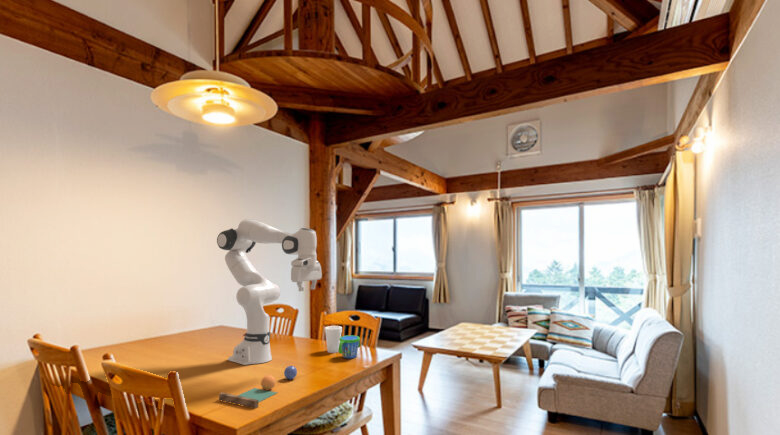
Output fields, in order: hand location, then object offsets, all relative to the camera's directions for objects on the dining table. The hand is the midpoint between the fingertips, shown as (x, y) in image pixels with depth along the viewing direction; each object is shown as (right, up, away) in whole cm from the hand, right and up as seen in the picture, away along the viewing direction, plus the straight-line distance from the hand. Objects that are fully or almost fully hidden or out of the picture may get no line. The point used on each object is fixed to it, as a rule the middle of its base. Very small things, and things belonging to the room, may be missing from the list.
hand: (307, 290), depth 189 cm
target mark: (-13, -35, -36) cm, 52 cm away
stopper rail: (-16, -34, -44) cm, 58 cm away
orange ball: (-10, -32, -29) cm, 44 cm away
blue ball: (-4, -33, -16) cm, 37 cm away
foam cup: (+8, -40, +30) cm, 50 cm away
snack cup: (+19, -39, +18) cm, 47 cm away
